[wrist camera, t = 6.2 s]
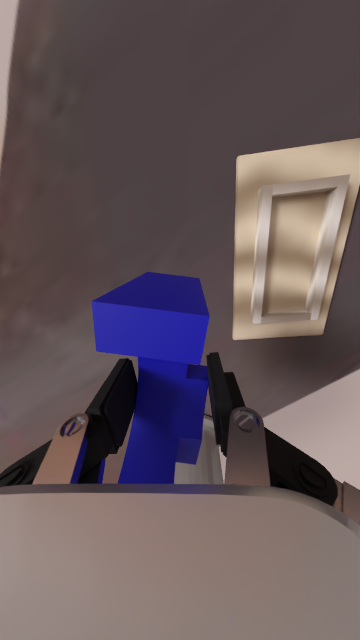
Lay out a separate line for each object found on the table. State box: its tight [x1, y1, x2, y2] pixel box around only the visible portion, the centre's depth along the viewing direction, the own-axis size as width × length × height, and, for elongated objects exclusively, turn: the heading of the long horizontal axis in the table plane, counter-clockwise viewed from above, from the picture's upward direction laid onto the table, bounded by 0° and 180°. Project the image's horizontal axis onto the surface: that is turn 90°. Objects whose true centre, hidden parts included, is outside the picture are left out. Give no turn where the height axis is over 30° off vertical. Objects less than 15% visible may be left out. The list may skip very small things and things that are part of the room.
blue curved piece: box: [92, 272, 209, 484], centre depth 9 cm, size 12×4×6 cm, turn 174°
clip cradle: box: [233, 138, 360, 340], centre depth 23 cm, size 24×14×2 cm, turn 6°
